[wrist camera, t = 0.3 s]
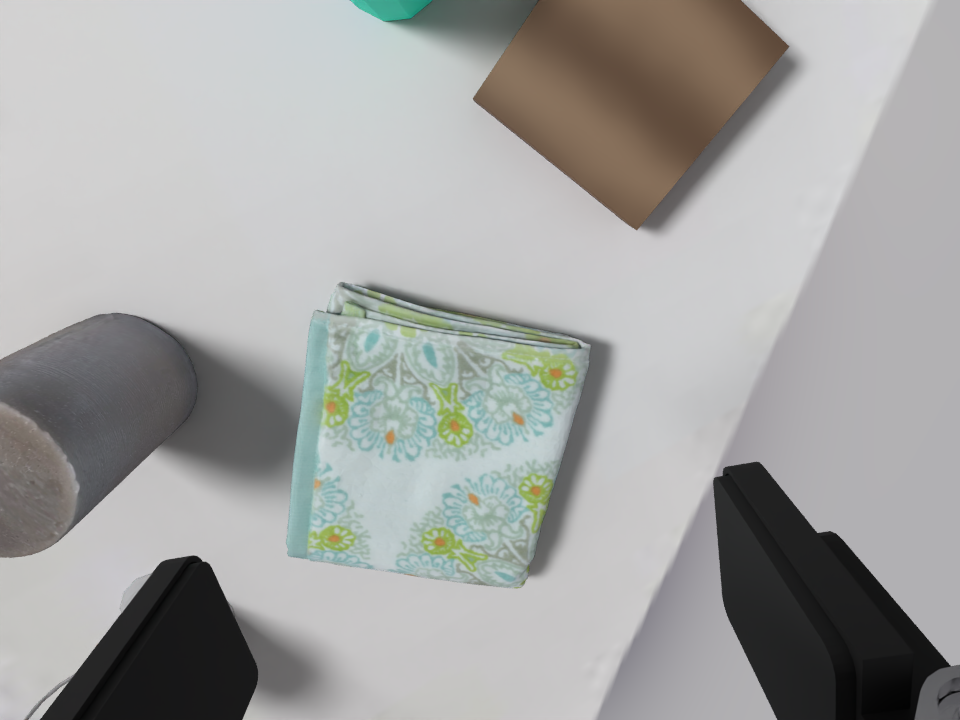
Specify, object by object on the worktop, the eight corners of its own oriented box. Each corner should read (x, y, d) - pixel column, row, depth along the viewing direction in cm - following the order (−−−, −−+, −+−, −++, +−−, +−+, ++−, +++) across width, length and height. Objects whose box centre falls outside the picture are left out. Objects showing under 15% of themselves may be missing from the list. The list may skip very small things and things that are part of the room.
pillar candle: (95, 445, 44) (-84, 589, 30) (37, 322, 41) (-194, 422, 27) (219, 424, 44) (95, 563, 30) (171, 298, 40) (5, 388, 26)
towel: (593, 325, 41) (606, 351, 36) (520, 568, 48) (523, 616, 44) (330, 269, 40) (308, 288, 35) (298, 526, 47) (276, 571, 42)
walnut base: (606, -95, 32) (617, -117, 29) (764, 53, 34) (789, 46, 31) (474, 101, 35) (472, 98, 33) (625, 223, 38) (636, 230, 35)
